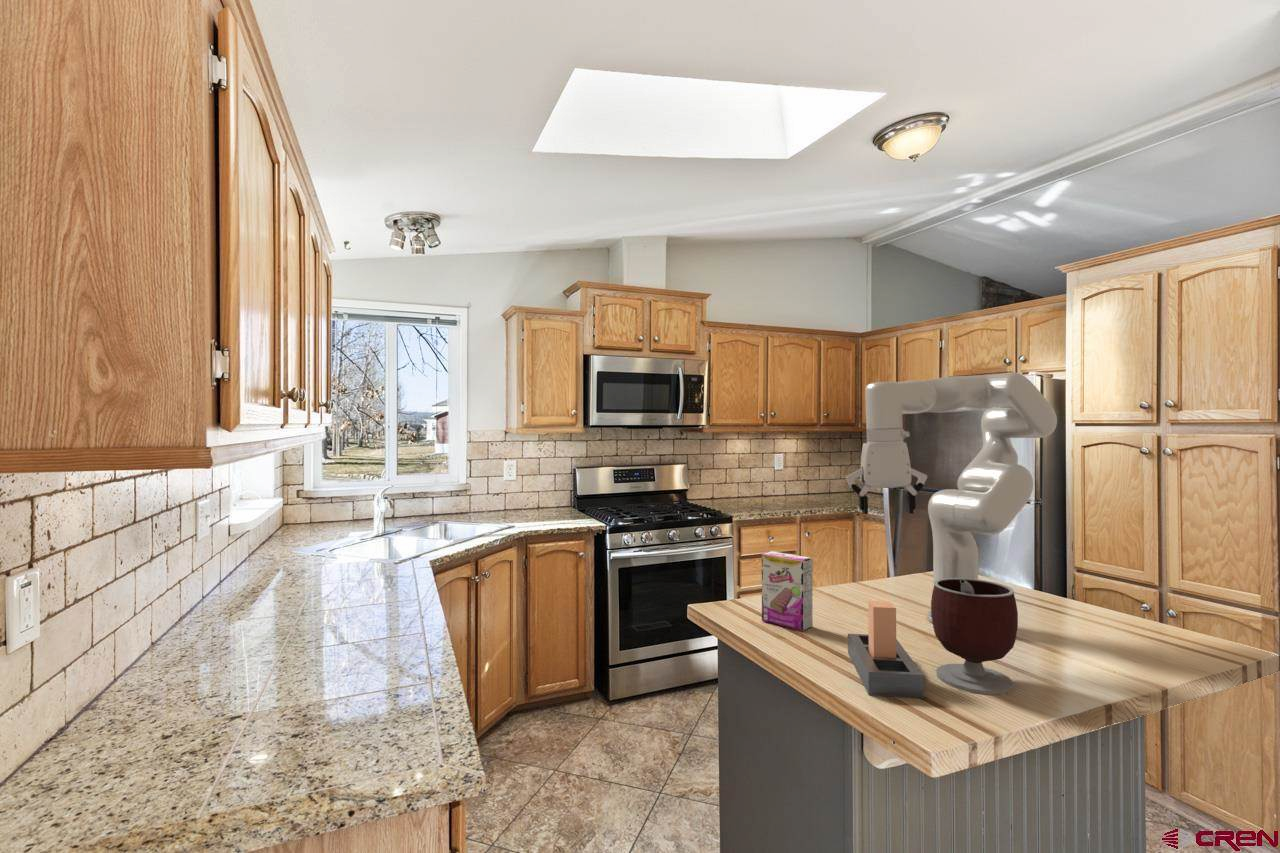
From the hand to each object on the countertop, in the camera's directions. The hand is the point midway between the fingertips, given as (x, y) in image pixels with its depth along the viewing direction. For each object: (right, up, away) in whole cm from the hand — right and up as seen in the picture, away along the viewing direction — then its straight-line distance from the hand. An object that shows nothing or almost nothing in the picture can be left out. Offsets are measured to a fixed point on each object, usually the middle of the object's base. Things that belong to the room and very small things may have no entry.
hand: (887, 512), depth 134 cm
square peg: (-10, -27, -22) cm, 36 cm away
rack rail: (-10, -27, -22) cm, 36 cm away
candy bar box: (-21, -28, +7) cm, 35 cm away
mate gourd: (+5, -27, -25) cm, 38 cm away
